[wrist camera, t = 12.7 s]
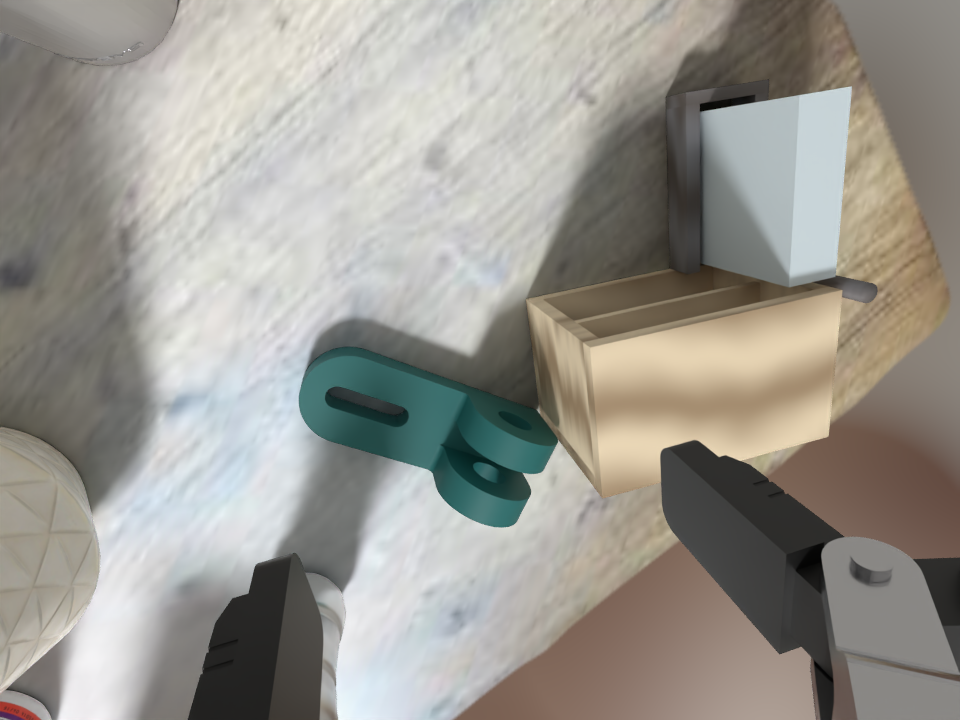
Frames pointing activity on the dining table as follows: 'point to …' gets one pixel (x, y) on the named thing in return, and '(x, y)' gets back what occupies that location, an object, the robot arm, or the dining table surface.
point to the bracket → (432, 430)
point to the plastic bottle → (328, 638)
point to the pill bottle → (21, 707)
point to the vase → (41, 551)
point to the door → (774, 186)
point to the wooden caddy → (686, 344)
